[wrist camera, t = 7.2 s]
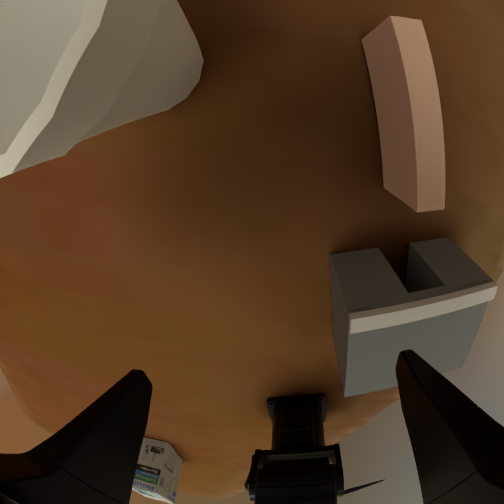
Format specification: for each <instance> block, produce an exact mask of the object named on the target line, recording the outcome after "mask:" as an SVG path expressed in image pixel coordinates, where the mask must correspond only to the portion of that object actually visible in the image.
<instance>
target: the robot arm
mask: <svg viewBox="0 0 504 504" xmlns="http://www.w3.org/2000/svg"><path fill="white" fill-rule="evenodd" d="M395 372H396V378H397V383H398V388H399V394H400V400H401V406H402V411H403V415H404V418H405V422H406V426H407V429H408V433H409V437H410V441H411V445H412V449H413V453H414V457H415V461H416V466H417V470H418V476H419V481H420V485H421V491H422V497H423V503H424V504H504V427H503V426H502V425H500V424H499V423H498V422H496V421H495V420H494V419H493V418H491V417H490V416H489V415H488V414H487V413H485V412H484V411H483V410H482V409H481V408H480V407H478V406H477V405H476V404H475V403H474V402H473V401H472V400H470V399H469V398H468V397H467V396H466V395H465V394H464V393H462V392H461V391H460V390H459V389H458V388H456V386H454V385H453V384H452V383H451V382H450V381H449V380H447V379H446V378H445V377H444V376H443V375H442V374H440V373H439V372H438V371H437V370H436V369H435V368H433V367H432V366H431V365H430V364H429V363H427V362H426V361H425V360H424V359H423V358H421V357H420V356H419V355H418V354H417V353H415V352H414V351H413V350H411V349H408V350H404V351H401V352H400V353H399V355H398V359H397V363H396V367H395ZM151 394H152V384H151V382H150V380H149V379H148V377H147V376H146V374H145V373H144V371H142V370H136V369H134V370H131V371H130V372H129V373H128V374H127V375H125V376H124V377H123V378H122V379H121V380H119V381H118V382H117V383H116V384H115V385H113V386H112V387H111V388H110V389H109V390H108V391H106V392H105V393H104V394H103V395H102V396H100V397H99V398H98V399H97V400H96V401H94V402H93V403H92V404H91V405H90V406H88V407H87V408H86V409H85V410H84V411H82V412H81V413H80V414H79V415H78V416H76V417H75V418H74V419H73V420H72V421H71V422H69V423H68V424H67V425H65V426H64V427H63V428H62V429H60V430H59V431H58V432H57V433H55V434H54V435H52V436H51V437H50V438H48V439H47V440H45V441H44V442H42V443H41V444H39V445H37V446H36V447H34V448H33V449H32V450H30V451H28V452H25V453H21V454H1V453H0V504H129V501H130V496H131V491H132V486H133V481H134V477H135V472H136V468H137V463H138V459H139V454H140V450H141V446H142V442H143V438H144V434H145V430H146V426H147V421H148V415H149V408H150V401H151ZM267 407H268V410H269V414H270V417H271V420H272V423H273V429H272V448H271V450H261V449H256V450H255V454H254V455H252V464H251V469H250V472H249V475H248V477H247V480H246V483H245V488H246V489H247V490H248V492H249V496H250V500H251V501H255V504H337V497H339V496H343V491H344V477H343V468H342V461H341V455H340V448H339V444H334V445H329V446H325V440H324V427H323V422H325V414H326V396H325V394H316V395H307V396H297V397H286V398H271V399H267ZM331 462H332V464H329V463H331Z"/></svg>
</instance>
